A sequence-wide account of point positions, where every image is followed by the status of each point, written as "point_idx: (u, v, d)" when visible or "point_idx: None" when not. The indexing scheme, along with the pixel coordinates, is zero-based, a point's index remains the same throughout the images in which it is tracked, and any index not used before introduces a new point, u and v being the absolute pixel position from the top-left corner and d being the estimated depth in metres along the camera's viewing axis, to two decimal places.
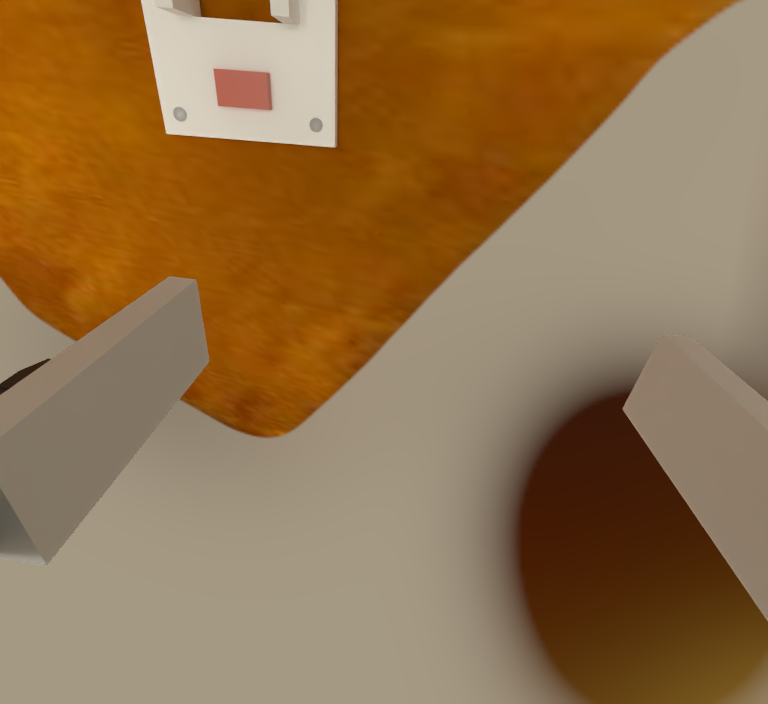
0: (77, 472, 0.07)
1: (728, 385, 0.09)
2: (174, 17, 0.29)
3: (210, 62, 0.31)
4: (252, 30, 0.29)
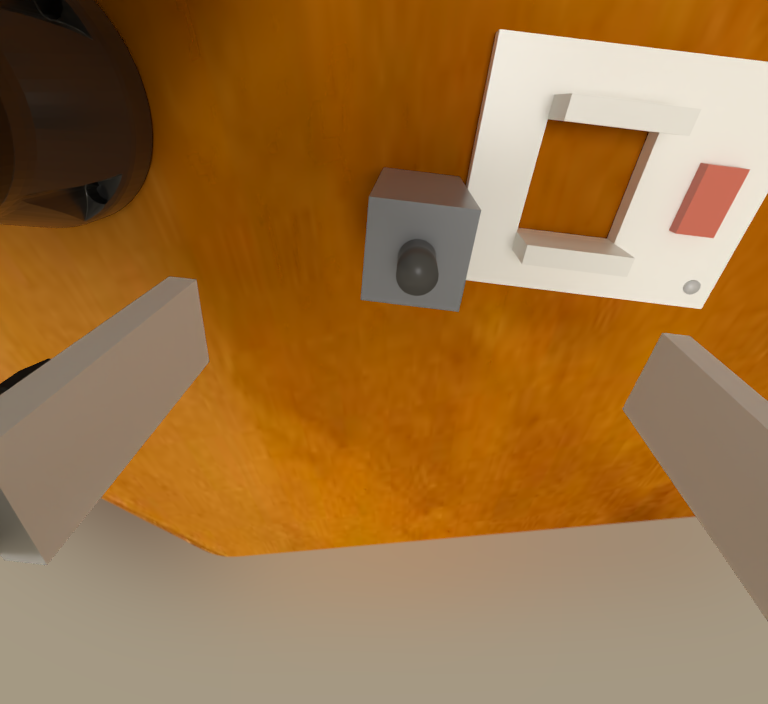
0: (77, 472, 0.07)
1: (728, 385, 0.09)
2: None
3: (659, 237, 0.26)
4: (651, 176, 0.25)
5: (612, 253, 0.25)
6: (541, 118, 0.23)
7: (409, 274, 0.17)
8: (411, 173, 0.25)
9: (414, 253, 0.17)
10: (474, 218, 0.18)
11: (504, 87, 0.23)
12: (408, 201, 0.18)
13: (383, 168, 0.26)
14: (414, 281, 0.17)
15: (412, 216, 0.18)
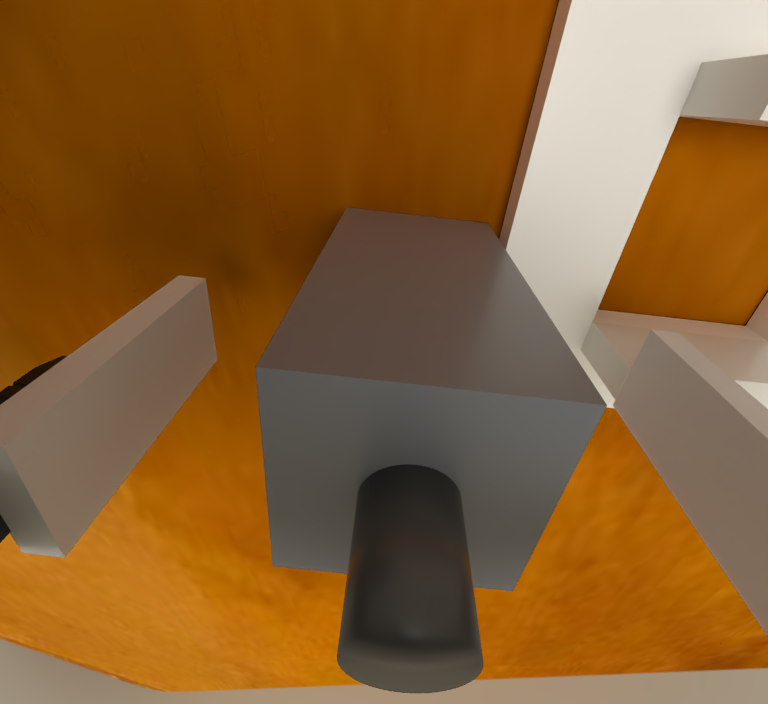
0: (93, 467, 0.08)
1: (714, 380, 0.09)
2: None
3: None
4: None
5: None
6: (666, 114, 0.11)
7: (384, 659, 0.05)
8: (398, 222, 0.13)
9: (397, 597, 0.05)
10: (582, 424, 0.06)
11: (594, 47, 0.10)
12: (380, 378, 0.06)
13: (345, 211, 0.14)
14: (401, 671, 0.05)
15: (393, 416, 0.06)
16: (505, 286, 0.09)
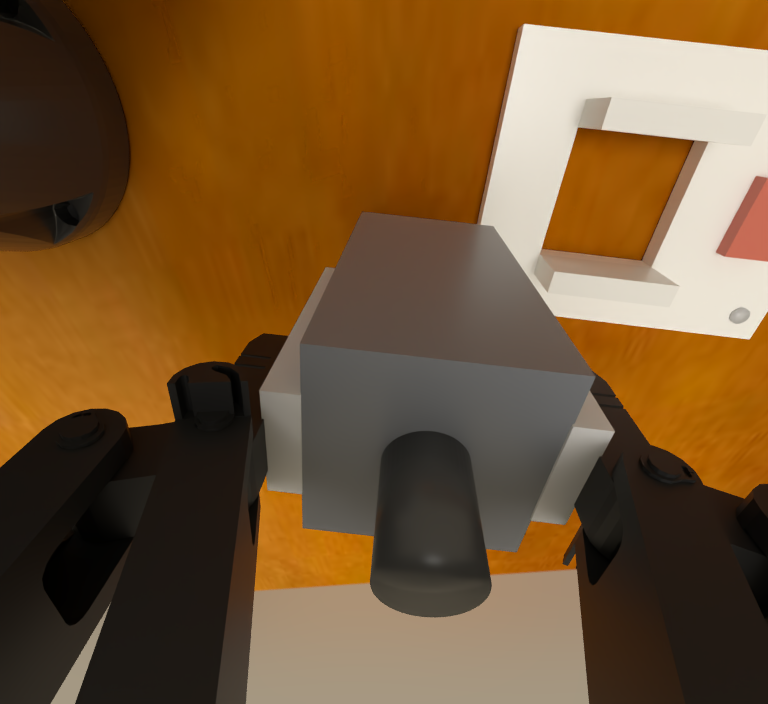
0: None
1: None
2: None
3: (704, 260, 0.23)
4: (696, 192, 0.21)
5: (652, 280, 0.21)
6: (570, 126, 0.20)
7: (409, 583, 0.06)
8: (410, 225, 0.14)
9: (421, 527, 0.06)
10: (575, 393, 0.07)
11: (528, 91, 0.20)
12: (403, 354, 0.07)
13: (361, 214, 0.15)
14: (422, 593, 0.06)
15: (414, 387, 0.07)
16: (509, 281, 0.10)
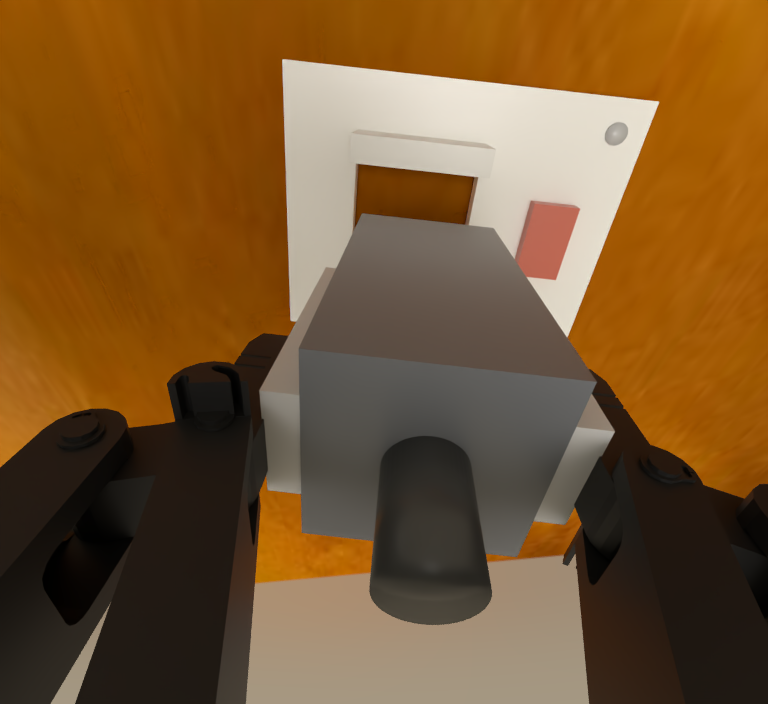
0: None
1: None
2: None
3: None
4: (480, 215, 0.22)
5: None
6: (349, 154, 0.21)
7: (409, 591, 0.06)
8: (410, 227, 0.14)
9: (420, 535, 0.06)
10: (576, 399, 0.07)
11: (302, 121, 0.20)
12: (403, 359, 0.07)
13: (361, 216, 0.15)
14: (423, 601, 0.06)
15: (413, 392, 0.07)
16: (509, 284, 0.10)
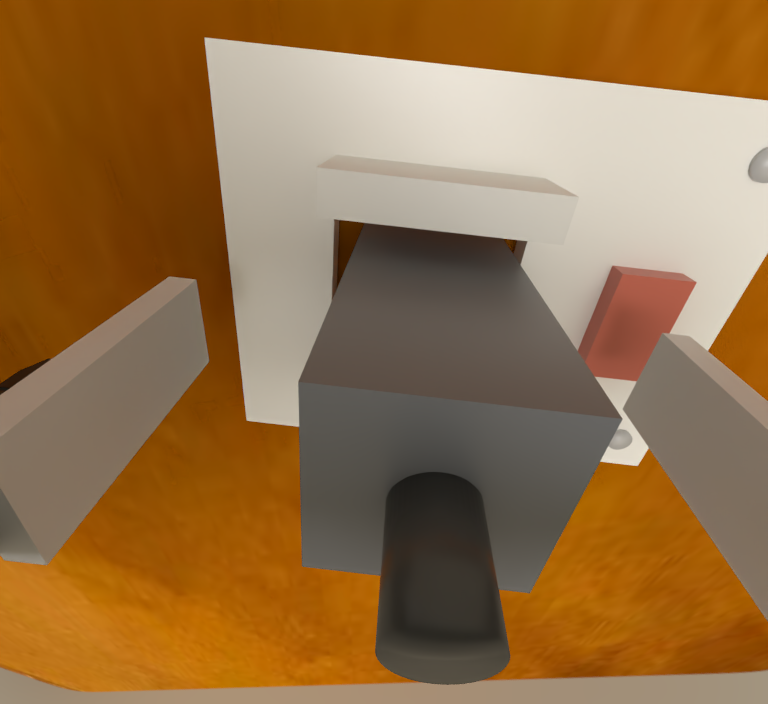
0: (77, 472, 0.07)
1: (728, 385, 0.09)
2: None
3: None
4: None
5: None
6: None
7: (418, 652, 0.05)
8: (415, 236, 0.14)
9: (431, 592, 0.05)
10: (599, 436, 0.06)
11: (244, 142, 0.12)
12: (412, 393, 0.06)
13: (364, 225, 0.14)
14: (433, 662, 0.06)
15: (423, 427, 0.07)
16: (522, 302, 0.10)
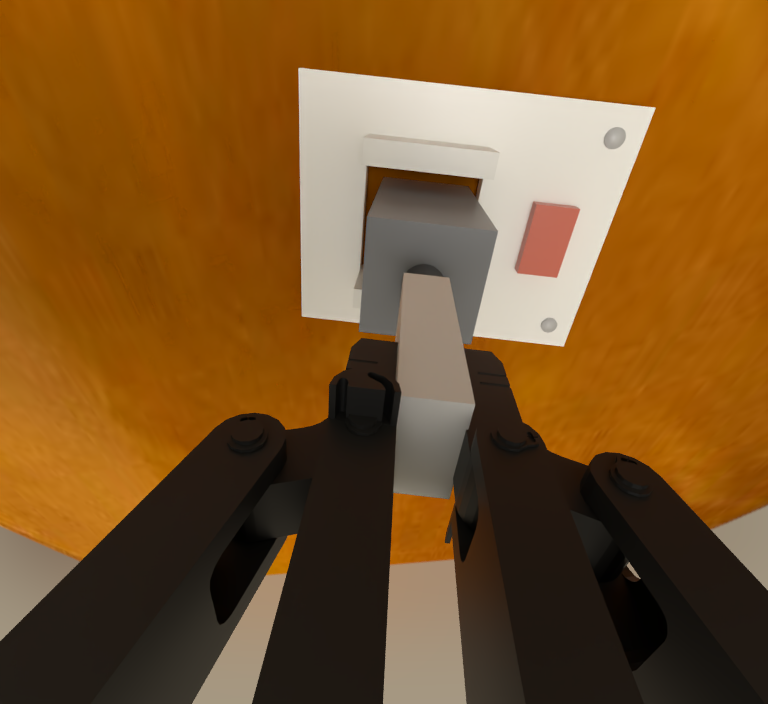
0: None
1: (437, 307, 0.11)
2: None
3: (506, 275, 0.25)
4: None
5: None
6: (360, 157, 0.22)
7: None
8: (414, 183, 0.23)
9: None
10: (490, 240, 0.15)
11: (316, 126, 0.22)
12: (413, 221, 0.15)
13: (383, 178, 0.23)
14: None
15: (417, 238, 0.16)
16: (469, 206, 0.19)
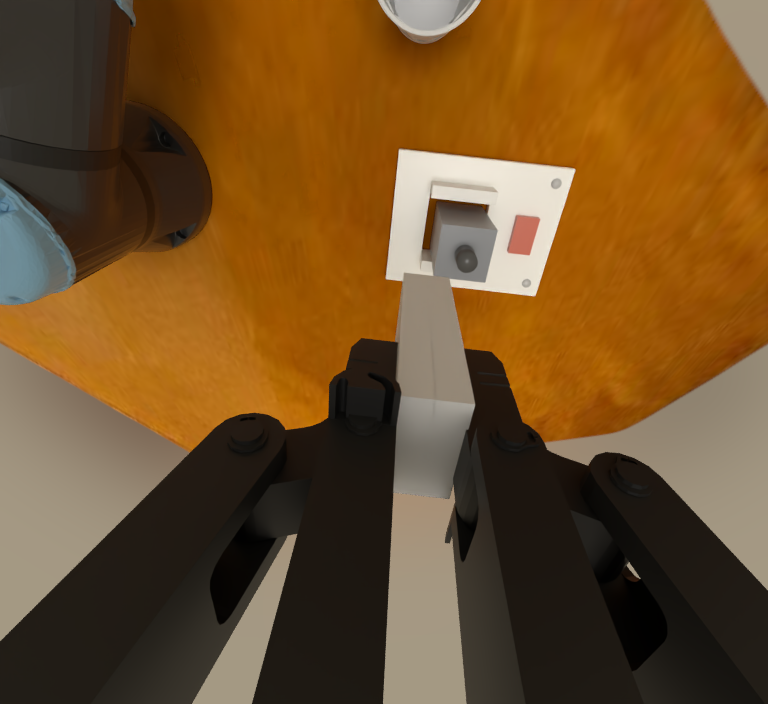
0: None
1: (437, 307, 0.11)
2: None
3: (502, 254, 0.46)
4: None
5: None
6: (426, 192, 0.43)
7: (463, 262, 0.35)
8: (454, 205, 0.43)
9: (466, 251, 0.35)
10: (494, 234, 0.36)
11: (405, 176, 0.42)
12: (461, 226, 0.36)
13: (437, 202, 0.44)
14: (466, 265, 0.35)
15: (463, 233, 0.36)
16: (484, 218, 0.40)
